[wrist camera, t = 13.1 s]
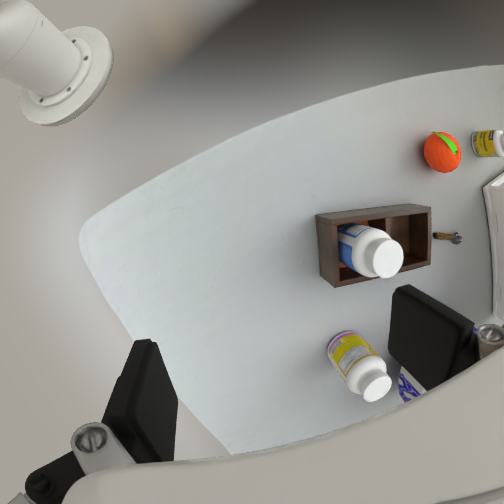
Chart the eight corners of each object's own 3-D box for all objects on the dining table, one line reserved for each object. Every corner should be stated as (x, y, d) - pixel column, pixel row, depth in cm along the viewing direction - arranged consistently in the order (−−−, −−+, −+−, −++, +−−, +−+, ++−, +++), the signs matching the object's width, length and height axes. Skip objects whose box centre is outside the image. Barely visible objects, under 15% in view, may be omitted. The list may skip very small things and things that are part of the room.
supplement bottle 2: (469, 128, 39) (504, 125, 30) (483, 135, 40) (516, 134, 31) (470, 153, 40) (506, 152, 31) (484, 159, 41) (517, 160, 32)
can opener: (431, 237, 43) (436, 238, 42) (434, 225, 42) (438, 226, 41) (459, 245, 44) (463, 246, 43) (461, 233, 44) (465, 234, 43)
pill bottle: (353, 268, 41) (393, 293, 30) (321, 253, 40) (357, 276, 29) (371, 231, 40) (415, 246, 29) (339, 214, 39) (381, 224, 28)
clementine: (406, 148, 39) (434, 145, 32) (421, 121, 38) (448, 116, 31) (432, 180, 40) (460, 182, 34) (446, 153, 40) (473, 152, 33)
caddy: (315, 214, 39) (330, 219, 34) (409, 203, 41) (431, 206, 35) (319, 275, 41) (334, 288, 36) (410, 256, 43) (430, 264, 38)
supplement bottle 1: (360, 355, 46) (394, 396, 34) (327, 366, 46) (356, 413, 33) (360, 324, 45) (399, 364, 32) (324, 335, 44) (357, 381, 32)
